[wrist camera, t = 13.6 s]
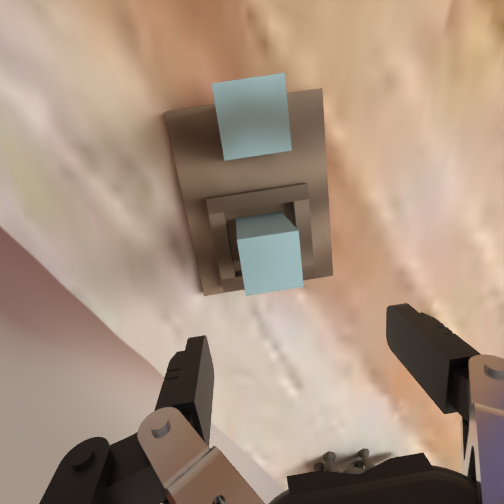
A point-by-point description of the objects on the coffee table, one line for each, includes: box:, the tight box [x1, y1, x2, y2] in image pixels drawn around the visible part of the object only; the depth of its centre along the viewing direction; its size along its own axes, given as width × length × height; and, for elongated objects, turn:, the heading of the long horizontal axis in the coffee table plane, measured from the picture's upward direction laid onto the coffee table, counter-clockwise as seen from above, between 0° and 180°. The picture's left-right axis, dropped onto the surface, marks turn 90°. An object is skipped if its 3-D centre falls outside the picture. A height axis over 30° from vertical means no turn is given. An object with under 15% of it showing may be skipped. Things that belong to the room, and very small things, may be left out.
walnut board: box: [164, 73, 333, 296], centre depth 24 cm, size 18×14×9 cm
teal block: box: [236, 212, 304, 296], centre depth 25 cm, size 4×4×8 cm
